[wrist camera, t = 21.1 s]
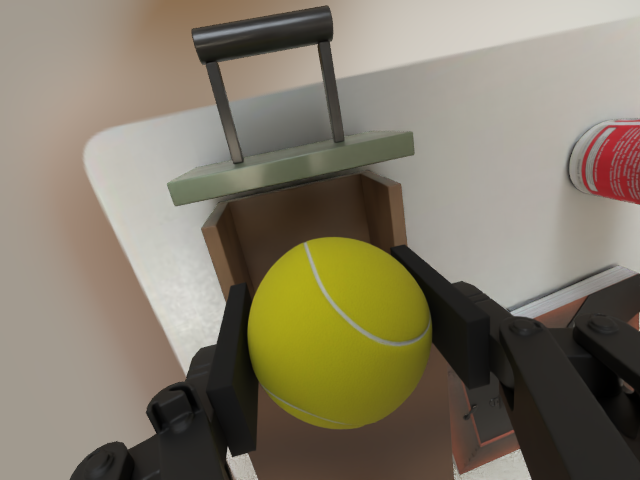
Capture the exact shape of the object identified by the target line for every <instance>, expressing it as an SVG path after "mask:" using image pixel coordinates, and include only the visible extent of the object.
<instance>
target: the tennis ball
mask: <svg viewBox="0 0 640 480" xmlns="http://www.w3.org/2000/svg"><path fill="white" fill-rule="evenodd" d="M247 335H248V348H249V355H250V360H251V364H252V367H253V370H254V372H255V375H256V377H257V379H258V380H259V382H260V384H261V386H262V387H263V389H264V390H265V391H266V393H267V394H268V395H269V396H270V397H271V399H272V400H273V401H274V402H275V403H276V404H277V405H279V406H280V407H281V408H282V409H283V410H285V411H286V412H288V413H289V414H291V415H293V416H294V417H296V418H298V419H300V420H302V421H304V422H307V423H309V424H312V425H315V426H319V427H323V428H330V429H353V428H358V427H362V426H364V425H366V424H371V423H375V422H377V421H379V420H381V419H383V418H384V417H386V416H388V415H389V414H390V413H392V412H393V411H394V410H396V409H397V408H398V407H399V406H400V405H401V404H402V403H403V402H404V401H405V400H406V399H407V398H408V397H409V396H410V395H411V393H412V392H413V391H414V389H415V388H416V386H417V384H418V383H419V381H420V379H421V377H422V375H423V373H424V370H425V368H426V365H427V362H428V359H429V355H430V350H431V344H432V320H431V314H430V310H429V306H428V303H427V300H426V298H425V295H424V294H423V292H422V290H421V288H420V287H419V285H418V284H417V282H416V281H415V279H414V278H413V277H412V275H411V274H410V273H409V272H408V271H407V270H406V268H405V267H404V266H403V265H402V264H400V263H399V262H398V261H397V260H396V259H395V258H393V257H392V256H391V255H389V254H388V253H386V252H384V251H383V250H381V249H379V248H377V247H375V246H373V245H371V244H368V243H365V242H362V241H359V240H355V239H350V238H342V237H325V238H318V239H313V240H309V241H307V242H305V243H301V244H299V245H297V246H296V247H294V248H292V249H291V250H290V251H288V252H287V253H286V254H284V255H283V256H282V257H281V258H280V259H279V260H278V261H277V262H276V263H275V264H274V265H273V266H272V267H271V268H270V270H269V271H268V272H267V274H266V275H265V277H264V278H263V280H262V282H261V283H260V285H259V287H258V289H257V291H256V294H255V296H254V299H253V302H252V305H251V309H250V314H249V319H248V332H247Z"/></svg>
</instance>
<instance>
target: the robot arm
mask: <svg viewBox="0 0 640 480" xmlns="http://www.w3.org/2000/svg"><path fill="white" fill-rule="evenodd" d="M390 252H391V256H392V257H393V258H395V259H396V260H397V261H398V262H399V263H400V264H402V265H403V266H404V267H405V268H406V270H407V271H408V272H409V273H410V274H411V275H412V277H413V278H414V279H415V281H416V282H417V284H418V285H419V287H420V288H421V290H422V292H423V294H424V295H425V298H426V300H427V303H428V306H429V310H430V314H431V320H432V343H433V344H434V345H435V347H436V348H437V349H438V351H439V352H440V353H441V354H442V356H443V357H444V358H445V360H446V361H447V362H448V364H449V365H450V366H451V367H452V369H453V370H454V371H455V373H456V374H457V375H458V376H459V378H460V379H461V380H462V382H463V383H464V384H465V386H466V387H467V388H468V389H469V390H471V389H475V388H478V387H482V386H486V385H489V384H490V371H491V372H492V373H493V374H494V375H495V376H496V377H497V378H498V379H499V409H503V403H504V406H505V408H506V411H507V414H508V416H509V419H510V422H511V425H512V427H513V430H514V433H515V435H516V438H517V441H518V444H519V446H520V449H521V452H522V454H523V457H524V460H525V463H526V465H527V468H528V471H529V473H530V476H531V479H532V480H640V331H638V330H637V329H635V328H634V327H632V326H630V325H629V324H627V323H626V322H624V321H622V320H620V319H618V318H616V317H613V316H610V315H606V314H602V313H583V314H580V315H577V317H576V318H575V319H574V325H573V327H569V328H547V327H546V326H545V325H544V324H542V323H541V322H539V321H537V320H535V319H532V318H528V317H523V316H513V315H512V314H511V313H509V312H508V311H507V310H505V309H504V308H503V307H501V306H500V305H499V304H497V303H496V302H495V301H494V300H492V299H490V297H488V296H487V295H486V294H483V292H482V291H480V290H479V289H478V288H476V287H475V286H474V285H471V284H468V283H465V282H463V281H461V282H457V283H453V284H451V283H450V282H449V281H448V280H446V279H445V278H444V277H443V276H442V275H441V274H439V273H438V272H437V271H436V270H435V269H433V268H432V267H431V266H430V265H429V264H427V263H426V262H425V261H424V260H423V259H421V258H420V257H419V256H418V255H417V254H416V253H414V252H413V251H412V250H411V249H410V248H408V247H407V246H406V245H405V244H404V245H399V246H395V247H391V248H390ZM251 305H252V299H251V296H250V293H249V289H248V286H247V283H246V282H245V283H241V284H237V285H232V286H230V290H229V295H228V299H227V303H226V307H225V311H224V316H223V320H222V324H221V328H220V332H219V337H218V341H217V344H215V345H211V346H207V347H204V348H200V350H199V351H198V352H197V353H196V355H195V356H194V357H193V358H192V361H191V364H190V367H189V371H188V373H187V377H186V378H187V379H186V380H185V382H178V383H175V384H172V385H170V386H168V387H166V388H165V389H163V390H161V391H160V392H159V393H158V394H157V395H156V396H154V398H152V400H151V402H150V403H149V404H148V407H147V411H146V414H147V416H148V418H149V420H150V422H151V423H152V425H153V427H154V429H155V431H156V433H157V434H155V435H154V436H152V437H151V438H149V439H147V440H146V441H143V442H142V443H140V444H138V445H136V446H134V447H132V448H130V449H127V447H126V446H125V445H124V443H122V442H117V441H116V442H112V443H107V444H105V445H103V446H101V447H99V448H97V449H96V450H95V451H93V452H92V453H91V454H89V455H88V456H87V457H86V458H85V459H84V460H83V461H82V462H81V463H80V464H79V465H78V466H77V468H76V470H75V471H74V473H73V474H72V476H71V478H70V480H233V478H232V475H231V472H230V468H229V466H228V464H227V461H226V455H227V447H229V450H230V452H231V455H232V457H235V456H238V455H242V454H245V453H249V452H252V451H256V445H257V416H258V388H259V380H258V379H257V377H256V375H255V372H254V370H253V367H252V364H251V360H250V355H249V348H248V335H247V332H248V319H249V314H250V309H251ZM623 381H625V382H626V383H627V384H628V385H630V386H631V387H632V388H633V389H634V391H631V390H630V389H628V388H627V387H626V386H625V385H624V384H623Z"/></svg>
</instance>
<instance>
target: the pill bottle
mask: <svg viewBox="0 0 640 480" xmlns="http://www.w3.org/2000/svg"><path fill="white" fill-rule="evenodd" d="M569 171H570V177H571V180H572V182H573V184H574V185H575V187H576V188H578V189H579V190H580V191H582V192H584V193H587V194H591V195H595V196H600V197H605V198H610V199H615V200H620V201H625V202H630V203H635V204H639V205H640V119H616V120H608V121H605V122H602V123H599V124H597V125H596V126H594V127H592V128H591V129H590V130H588V131H587V132H586V133H585V134H584V135H583V136H582V137H581V138H580V140H579V141H578V142H577V144H576V146H575V148H574V150H573V152H572V155H571V159H570V165H569Z"/></svg>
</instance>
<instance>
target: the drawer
mask: <svg viewBox="0 0 640 480" xmlns="http://www.w3.org/2000/svg"><path fill="white" fill-rule="evenodd" d="M192 38H193V42H194V45H195V48H196V52H197V54H198V57H199V59H200V62H201V63H202V64H203V65H205V64H206V68H207V71H208V75H209V79H210V82H211V85H212V90H213V93H214V97H215V100H216V104H217V107H218V111H219V115H220V118H221V122H222V125H223V129H224V132H225V136H226V140H227V143H228V147H229V150H230V154H231V158H232V160H229V161H224V162H220V163H215V164H210V165H205V166H200V167H196V168H195V169H193V170H191V171H189V172H187V173H185V174H183V175H182V176H180V177H178V178H176V179H174V180H172V181H170V182H169V183H167V186H168V189H169V191H170V194H171V197H172V200H173V203H174V205H175V206H180V205H185V204H190V203H194V202H199V201H203V200H208V199H213V198H217V197H222V196H227V195H231V194H236V193H240V192H245V191H250V190H254V189H259V188H263V187H268V186H273V185H277V184H282V183H287V182H291V181H296V180H300V179H305V178H310V177H314V176H319V175H324V174H328V173H333V172H337V171H342V170H347V169H351V168H356V167H360V166H365V165H370V164H374V163H379V162H384V161H388V160H393V159H397V158H402V157H407V156H411V155H414V141H413V132H404V131H369V132H364V133H359V134H354V135H350V136H345V137H344V132H343V125H342V119H341V113H340V106H339V100H338V93H337V87H336V80H335V74H334V67H333V61H332V54H331V48H330V41H332V39H333V21H332V16H331V11H330V8H329V6H321V7H315V8H309V9H304V10H299V11H292V12H287V13H281V14H275V15H269V16H264V17H258V18H252V19H246V20H240V21H235V22H229V23H223V24H218V25H212V26H206V27H200V28H194V29H192ZM315 44H318V52H319V58H320V64H321V70H322V76H323V82H324V88H325V94H326V100H327V106H328V112H329V118H330V124H331V130H332V136H333V139H330V140H326V141H321V142H316V143H311V144H306V145H301V146H297V147H292V148H287V149H282V150H277V151H273V152H268V153H263V154H258V155H253V156H249V157H244V158H243V155H242V151H241V147H240V143H239V140H238V136H237V132H236V128H235V125H234V121H233V117H232V113H231V110H230V106H229V102H228V98H227V95H226V91H225V87H224V83H223V80H222V76H221V72H220V68H219V65H218V63H217V62H222V61H227V60H233V59H238V58H244V57H249V56H254V55H260V54H265V53H271V52H277V51H282V50H287V49H293V48H298V47H304V46H309V45H315ZM201 230H202V233H203V236H204V239H205V242H206V245H207V248H208V251H209V254H210V257H211V260H212V262H213V265H214V268H215V271H216V274H217V277H218V280H219V283H220V286H221V289H222V292H223V295H224V298H225V301H226V303H227V299H228V295H229V290H230V286H232V285H237V284H241V283H245V282H246V283H247V286H248V289H249V293H250V296H251V299H252V302H253V299H254V296H255V294H256V291H257V289H258V287H259V285H260V283H261V282H262V280H263V278H264V277H265V275H266V274H267V272H268V271H269V270H270V268H271V267H272V266H273V265H274V264H275V263H276V262H277V261H278V260H279V259H280V258H281V257H282V256H283V255H284V254H286V253H287V252H288V251H290V250H291V249H292V248H294V247H296V246H297V245H299V244H301V243H305V242H307V241H309V240H313V239H318V238H325V237H342V238H350V239H355V240H359V241H362V242H365V243H368V244H371V245H373V246H375V247H377V248H379V249H381V250H383V251H384V252H386V253H388V254H389V255H391V252H390V248H391V247H395V246H399V245H404V244H405V245H406V246H407V238H406V228H405V218H404V208H403V198H402V188H401V184H400V183H398V182H395V181H393V180H390V179H388V178H386V177H383V176H381V175H378V174H376V173H373V172H371V171H369V170H365V171H361V172H356V173H351V174H347V175H342V176H338V177H333V178H329V179H324V180H319V181H315V182H310V183H306V184H301V185H296V186H292V187H287V188H283V189H278V190H273V191H269V192H264V193H260V194H255V195H250V196H246V197H241V198H237V199H232V200H227V201H223V202H219V203H218V204H217V206H216V207H215V209H214V210H213V212H212V213H211V215H210V216H209V218H208V219H207V221H206V222H205V224H204V225H203V226H202V228H201Z"/></svg>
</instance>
